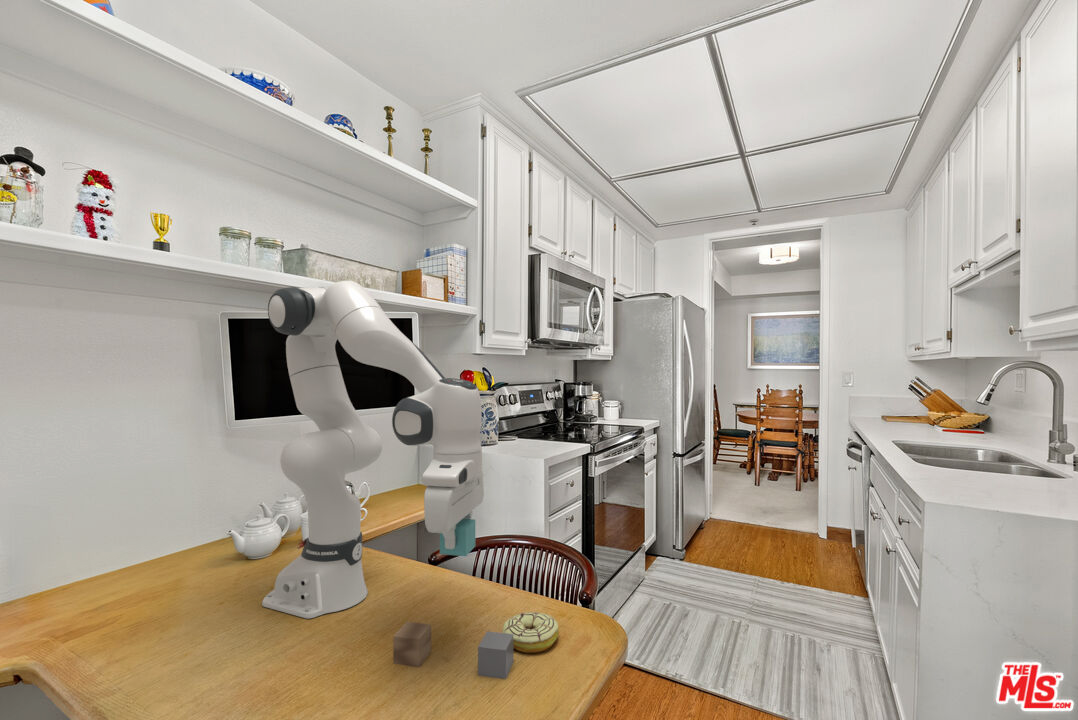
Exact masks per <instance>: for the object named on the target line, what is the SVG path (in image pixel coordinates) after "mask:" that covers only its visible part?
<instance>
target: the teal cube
mask: <svg viewBox="0 0 1078 720" xmlns="http://www.w3.org/2000/svg"><path fill="white" fill-rule="evenodd" d="M454 531H455V536H456V537H457V545H456V547H455V548H454V549H446V548H445V539H444V536H443V533H439V555H447V556H459V557H467V556H468V555H469V554H470V553H471V552H472V550H473V549H474V548H475V547H476V519H473V518H471V519H462V520H461V521H460V522H458V523H457V524H456V529H455V530H454Z"/></svg>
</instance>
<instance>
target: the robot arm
mask: <svg viewBox="0 0 1078 720" xmlns="http://www.w3.org/2000/svg"><path fill="white" fill-rule="evenodd" d="M267 315H268V319H269V322H270V325H271V326H272V327H273V328H274V330H275V331H276V332H277V333H280V334H282V335H287V338H286V341H285V346H286V347H285V354H286V355H285V357H286V364H287V365H286V366H287V369H288V376H289V380H290V384H291V388H292V393H293V397H294V401H295V405H296V408H297V410H298V411H299V412H300V413H301V414H302V415H304V416H306V417H308V418H309V419H310V420H311V421H313V423H315V425H316V426H317V428H318V429H319V431H313V432H308V433H305V434H303V435H299V436H297V437H295V438H293V439H291V440H290V441H287V443H286V444H285V445H284V447H283V449H282V451H281V453H280V468H281V471H282V473H283V474H284V476H285V477H286V478H287V479H288V480H289V481H290V482H292V483H294V484H295V485H296V486H298V488H299V489H300V490H301V492H302V495H303V496H304V500H305V503H306V506H307V518H308V519H307V520H308V521H307V523H308V537H307V538H305V539H304V540H302V541H301V542H299V543H297V546H298V547H297V549H298V550H299V549H301V548H302V551H301V553H300V555H298V557H296V558H295V559H294V560H292V561H291V562H290V563H288V565H287V566H285V567H284V568H282V570H280V571H279V572H278V575H277V576H276V579H275V583H274V588H273V590H271V591H269V592H268V594H266V595H265V596H264V598H263V600H262V601H261V602H262V603H261V606H262V607H264V608H268V609H271V610H275V611H279V612H282V613H286V614H289V615H292V616H296V617H299V618H304V619H314V618H316V617H319V616H322V615H325V614H330V613H335V612H340V611H342V610H346V609H349V608H352V607H354V606H355V605H358V604H359V603H361V602H362V601H363V600H364V599H365V598H366V597H367V596H368V592H369V591H368V588H367V586H366V580H365V578H364V571H363V563H362V556H363V532H362V531H361V501H360V499H359V497H358V496H357V495H355V494H354V493H352V492H350V491H349V490H348V487H347V484H346V478H345V477H346V475H347V474H351V473H354V472H357V471H361V470H363V469H365V468H367V467H368V466H371V464H373V463H375V462H376V461H377V460H378V459H379V457H380V456H381V453H382V448H383V443H382V438H381V436H380V435H379V433H378V432H377V430H376V429H374V428H373V427H371V426H369V425H368V424H367V423H366V422H365V421H364V420H363V419H362V417H361V416H360V414H359V413H358V412H357V411H356V408H355V407H354V406H353V402H351V399H350V397H349V394H348V391H347V388H346V384H345V381H344V377H343V374H342V370H341V366H340V363H339V359H338V356H337V351H336V344H337V341H338V342H339V343H340V345H341V347H342V348H343V350H344V351H345V352H346V353H347V354H348V355H350V357H351V358H352V359H354V360H355V361H357V362H359V363H361V364H365V365H367V366H373V367H378V368H382V369H386V370H390V371H392V372H394V373H397V374H399V375H400V376H403V377H405V378H406V379H407V380H408V381H409V382H410V383H411V384H412V385H413V387H414V388H415V389H416V390H417V392H418V393H417V394H414V395H412V396H407V397H405V398H402V399H401V400H399V401H398V403H397V404H396V405H395V408H394V410H393V412H392V416H391V417H392V419H391V420H392V421H391V424H392V425H391V426H392V431H393V433H394V435H395V437H396V438H397V439H398V440H399V441H400V442H401V443H402V444H404V445H405V446H411V447H413V446H414V447H418V446H425V445H432V446H433V458H432V459H431V462H430V464H429V466H427V468H426V470H425V471H424V472H423V474H422V475H421V476H422V479H421V481H422V485H423V486H426V488H425V491H424V495H423V497H424V501H423V503H424V504H423V505H424V506H423V507H424V508H423V510H424V511H423V512H424V514H423V515H424V525H425V528H426V530H427V531H428V533H434V534H440V533H443V536H444V539H445V548H446V549H454V548H455V547H456V545H457V537H456V536H455V531H454V530H455V529H456V524H457V523H458V522H460V521H461V520H462V519H473V518H472V517H473V511H474V510H475V509H476V508H477V507H479V505H481V504H482V503H483V501H484V495H485V493H484V492H485V491H484V475H483V471H482V468H483V467H482V466H483V463H482V458H483V457H482V456H483V455H482V450H483V448H482V445H481V440H480V439H481V438H480V434H481V431H482V425H483V423H482V422H483V421H482V420H483V418H482V417H483V416H482V401H481V396H480V395H481V394H480V391H479V388H478V386H477V384H475V383H473V382H472V381H470V380H467V379H466V380H465V379H461V378H451V377H449V378H448V377H447V378H446V377H445V376H444V375H443V374H442V372H440V371H439V369H438V368H437V367H436V365H434V363H433V362H432V361H431V360H430V359H429V357H428V356H427V355H426V354H425V353H424V352H423V351H422V349H421V348H419V347H418V346H417V344H415V343H414V342H413V341H412V340H410V338H408V337H407V336H406V335H405V334H404V333H403V332H402V331H401V330H400V329H399V328H398V327H397V326H396V325H395V323H393V321H392V320H391V319H390V317H388V316H387V314H386V313H385V310H383V308H382V307H381V306H380V304H379V303H378V302H377V300H376V299H375V297H373V296H372V295H371V294H370V293H369V292H368V291H367V289H365V288H364V287H363V286H362V285H360V283H358V282H356V281H352V280H348V279H347V280H339V281H337V282H335V283H333V284H331V285H329V286H328V287H327V286H317V287H315V286H313V287H310V286H309V287H307V286H306V287H295V286H291V287H289V286H288V287H282V288H279V289H277V290H275V292H273V293H272V295H271V296H270V297H269V300H268V304H267Z"/></svg>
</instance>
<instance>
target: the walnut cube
mask: <svg viewBox="0 0 1078 720" xmlns="http://www.w3.org/2000/svg"><path fill="white" fill-rule="evenodd" d="M392 640H393V643H392V645H393V646H392V647H393V649H392V650H393V651H392V653H393V659H392V660H393V662H392V664H394V665H402V666H408V667H416V668H420V667H421V665H422V664H423V663H424V661H425V660H426V659H427V657H428V656H429V654H430V653H431V652H432V624H428V623H420V622H413V621H406V622H405V623H404V624H403V625H402V626H401V627H400V628H399V629H398V630H397V631H396V633H394V635H393V637H392Z"/></svg>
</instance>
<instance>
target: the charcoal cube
mask: <svg viewBox="0 0 1078 720" xmlns="http://www.w3.org/2000/svg"><path fill="white" fill-rule="evenodd" d="M513 663H514V648H513V634H507V633H503V632H497V631H489V630H488V631H487V630H486V632H485V634H484V636H483V638H482V639H481V641H480V642H479V644H478V647H477V672H478V673H477V676H480V677H488V678H495V679H503V680H507V678H508V675H509V674H510V670H511V668H512V665H513Z"/></svg>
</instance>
